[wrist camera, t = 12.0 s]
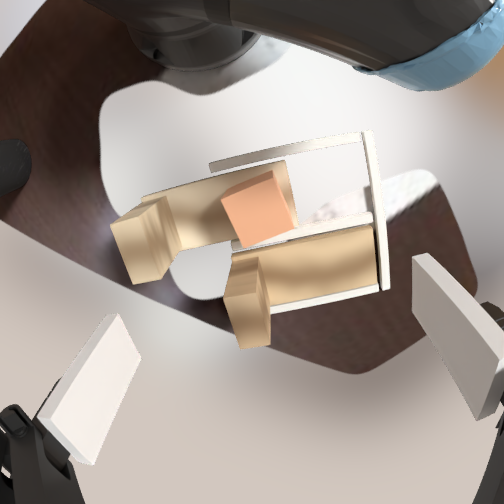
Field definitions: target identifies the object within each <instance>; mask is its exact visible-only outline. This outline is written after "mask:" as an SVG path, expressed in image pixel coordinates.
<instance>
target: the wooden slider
mask: <svg viewBox="0 0 504 504" xmlns="http://www.w3.org/2000/svg"><path fill="white" fill-rule="evenodd" d="M271 170H273V172H274V175H275V177H276V179H277V182H278V184H279V186H280V189H281V191H282V194H283V196H284V198H285V201H286V203H287V205H288V208H289V210H290V213H291V216H292V220H293V224H294V226H299V222H298V217H297V212H296V208H295V203H294V199H293V194H292V189H291V185H290V180H289V175H288V171H287V167H286V162H285V160H281V161H277V162H272V163H268V164H263V165H259V166H254V167H250V168H246V169H242V170H238V171H233V172H229V173H225V174H221V175H218V176H213V177H210V178H206V179H202V180H198V181H194V182H191V183H188V184H184V185H180V186H176V187H173V188H169V189H166V190H162V191H159V192H156V193H152V194H149V195H146V196H144V197H142V198H141V201H142V203H141V204H139V205H138V206H136V207H135V208H133V209H132V210H130V211H129V212H128V213H126V214H125V215H123V216H122V217H120V218H119V219H117V220H116V221H115V222H113V223H112V224H110V226H111V229H112V232H113V235H114V237H115V240H116V243H117V245H118V248H119V251H120V253H121V256H122V258H123V261H124V263H125V266H126V268H127V271H128V273H129V276H130V278H131V281H132V283H133V285H134V284H139V283H144V282H149V281H154V280H159V279H162V277H163V275H164V274H165V272H166V271H167V269H168V268H169V266H170V265H171V263H172V262H173V260H174V258H175V256H176V255H177V254H178V252H179V251H183V250H188V249H192V248H196V247H201V246H206V245H211V244H215V243H219V242H224V241H228V240H233V239H238V238H239V237H238V235H237V233H236V231H235V229H234V227H233V225H232V223H231V221H230V219H229V216H228V214H227V212H226V210H225V208H224V206H223V204H222V202H221V198H222V197H223V195H224V193H225V192H226V190H227V189H228V188H230V187H233V186H235V185H237V184H240V183H242V182H244V181H247V180H249V179H251V178H254V177H256V176H258V175H261V174H263V173H266V172H268V171H271Z"/></svg>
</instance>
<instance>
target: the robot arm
mask: <svg viewBox="0 0 504 504" xmlns="http://www.w3.org/2000/svg"><path fill="white" fill-rule="evenodd" d="M83 1H85V2H87V3H89V4H91V5H93V6H95V7H97V8H98V9H100V10H102V11H104V12H106V13H108V14H109V15H111V16H113V17H115V18H116V19H118V20H120V21H122V22H123V23H125V24H126V26H127V29H128V32H129V35H130V37H131V39H132V41H133V43H134V44H135V46H136V47H137V48H138V49H139V51H140V52H141V53H143V54H144V55H145V56H146V57H148V58H149V59H151V60H152V61H154V62H156V63H158V64H160V65H162V66H164V67H167V68H170V69H174V70H179V71H203V70H209V69H213V68H216V67H220V66H222V65H225V64H227V63H229V62H231V61H233V60H235V59H237V58H238V57H240V56H241V55H243V54H244V53H245V52H246V51H248V50H249V49H250V48H251V47H252V46H253V45H254V44H255V43H256V41H257V40H258V39H259V38H260V36H261V35H265V36H269V37H273V38H276V39H279V40H283V41H286V42H289V43H292V44H296V45H298V46H301V47H305V48H307V49H310V50H313V51H316V52H319V53H321V54H324V55H327V56H329V57H332V58H334V59H337V60H340V61H342V62H344V63H347V64H349V65H352V67H353V68H354V69H355V70H357V71H359V72H361V73H364V74H368V75H377V76H379V77H382V78H384V79H386V80H389V81H391V82H393V83H396V84H398V85H400V86H402V87H404V88H407V89H410V90H414V91H425V90H426V91H439V90H443V89H446V88H450V87H452V86H455V85H457V84H459V83H461V82H463V81H465V80H466V79H468V78H470V77H471V76H473V75H474V74H476V73H477V72H478V71H480V70H481V69H482V68H483V67H484V66H485V65H487V64H488V63H489V62H490V61H491V60H492V59H493V58H494V57H495V55H496V54H497V53H498V52H499V51H500V49H501V48H502V46H503V45H504V0H83ZM412 312H413V314H414V315H415V317H416V318H417V320H418V321H419V323H420V324H421V326H422V328H423V329H424V331H425V332H426V334H427V335H428V337H429V339H430V340H431V342H432V343H433V345H434V347H435V348H436V350H437V352H438V353H439V355H440V357H441V358H442V360H443V361H444V363H445V365H446V367H447V368H448V370H449V372H450V374H451V375H452V377H453V379H454V380H455V382H456V384H457V386H458V387H459V390H460V391H461V393H462V395H463V397H464V399H465V401H466V402H467V404H468V406H469V408H470V410H471V412H472V414H473V416H474V418H475V420H476V421H478V420H480V419H483V418H485V417H487V416H489V415H491V414H493V413H495V411H496V409H497V407H498V405H499V402H500V401H501V403H502V405H503V406H504V312H503V311H501V309H500V308H499V307H497V306H495V305H493V304H491V303H489V302H485V303H482V304H478V302H477V301H476V300H475V299H474V298H473V297H472V296H471V295H470V294H469V293H468V292H467V291H466V290H465V289H464V288H463V287H462V286H461V285H460V284H459V283H458V282H457V281H456V280H455V279H454V278H453V277H452V276H451V275H450V274H449V273H448V272H447V271H446V270H445V269H444V268H443V267H442V266H441V265H440V264H439V263H438V262H437V261H436V260H435V259H434V258H433V257H432V256H430V255H429V254H428V253H425V254H421V255H417V256H413V257H412ZM141 359H142V358H141V356H140V354H139V352H138V350H137V349H136V347H135V345H134V343H133V341H132V339H131V337H130V335H129V333H128V331H127V329H126V327H125V325H124V323H123V321H122V319H121V318H120V315H119V313H118V314H111V315H106V316H105V317H104V319H103V320H102V321H101V323H100V324H99V325H98V327H97V328H96V330H95V331H94V332H93V334H92V335H91V336H90V338H89V339H88V341H87V342H86V343H85V345H84V346H83V348H82V349H81V350H80V352H79V353H78V355H77V356H76V358H75V359H74V360H73V362H72V363H71V365H70V366H69V368H68V369H67V371H66V372H65V374H64V375H63V376H62V377H61V378H60V379H59V380H58V381H57V382H56V384H55V385H54V387H53V389H52V391H50V393H49V395H48V396H47V397H48V398H46V399H45V400H44V402H43V404H42V405H41V407H40V408H39V410H38V411H37V413H36V415H35V416H34V418H33V419H32V421H31V419H30V418H29V417H28V416H27V415H26V413H25V412H24V411H23V410H22V409H21V407H20V406H19V405H17V404H13V405H10V406H8V407H6V408H5V409H3V411H2V412H1V413H0V426H1V427H2V428H3V430H4V431H5V432H6V433H4V432H3V431H2V430H1V429H0V504H85V502H84V499H83V496H82V493H81V490H80V487H79V484H78V481H77V478H76V475H75V471H74V468H73V465H72V463H71V462H70V461H69V460H68V458H69V456H70V454H71V455H72V456H73V457H74V458H75V459H76V460H77V461H78V462H79V463H83V464H88V465H94V463H95V461H96V459H97V456H98V454H99V451H100V449H101V447H102V444H103V442H104V440H105V438H106V435H107V433H108V431H109V428H110V426H111V424H112V421H113V419H114V417H115V415H116V413H117V410H118V408H119V406H120V404H121V401H122V399H123V397H124V395H125V393H126V391H127V389H128V386H129V384H130V382H131V380H132V378H133V376H134V374H135V371H136V369H137V367H138V365H139V363H140V361H141ZM496 428H499V429H498V433H497V437H496V440H495V443H494V447H493V450H492V453H491V456H490V459H489V462H488V465H487V468H486V471H485V474H484V476H483V479H482V482H481V484H480V486H479V489H478V492H477V494H476V496H475V499H474V501H473V503H472V504H504V412H503V414H502V416H501V418H500V420H499V422H498V424H497V426H496ZM2 466H3V467H4V468H5V469H6V470H7V471H8V472H9V473H10V474H11V476H10V478H8V477H7V476H5V475H4V474H3V473H2V472H1V469H2Z"/></svg>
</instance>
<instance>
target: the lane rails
mask: <svg viewBox="0 0 504 504" xmlns="http://www.w3.org/2000/svg"><path fill="white" fill-rule="evenodd" d="M361 134H362V139H363V145H364V150H365V156H366V161H367V168H368V174H369V180H370V187H371V194H372V202H373V209H374V218H375V227H376V236H377V247H378V259H379V273H380V287H381V288H382V290H386V289H390V275H389V257H388V243H387V231H386V221H385V211H384V202H383V194H382V186H381V179H380V172H379V166H378V159H377V153H376V148H375V142H374V137H373V131H372V130H367V131H361ZM355 142H361V139H360V134H359V132H354V133H347V134H341V135H336V136H330V137H324V138H318V139H313V140H308V141H302V142H298V143H292V144H288V145H283V146H279V147H274V148H269V149H264V150H260V151H256V152H251V153H247V154H243V155H239V156H235V157H231V158H227V159H223V160H219V161H215V162H211V163H209V167H210V170H211V173H213V172H217V171H221V170H225V169H229V168H233V167H237V166H241V165H245V164H249V163H253V162H258V161H262V160H267V159H271V158H276V157H281V156H285V155H290V154H295V153H299V152H305V151H310V150H315V149H320V148H326V147H331V146H337V145H343V144H349V143H355ZM371 222H373V216H372V213H371V212H370V211H368V212H363V213H358V214H353V215H348V216H343V217H338V218H333V219H328V220H323V221H318V222H314V223H309V224H304V225H299V226H294V228H295V229H292V230H290V231H287V232H285V233H282V234H279V235H277V236H274V237H272V238H269V239H267V240H264V241H262V242H259V243H256V244H254V245H251V246H249V247H246V248H251V247H256V246H260V245H265V244H270V243H275V242H279V241H284V240H289V239H294V238H299V237H303V236H308V235H313V234H318V233H323V232H327V231H332V230H337V229H342V228H347V227H352V226H356V225H361V224H366V223H371ZM231 246H232V249H233V251H237V250H241V249H246V248H243V246H242V244H241V242H240V239H239V238H238V239H233V240H231ZM378 291H379V284H378V282H377V283H376V284H372V285H367V286H363V287H358V288H354V289H350V290H345V291H340V292H336V293H331V294H326V295H322V296H317V297H312V298H307V299H302V300H297V301H292V302H287V303H282V304H277V305H271V306H270V314H273V313H279V312H284V311H289V310H295V309H300V308H305V307H310V306H315V305H319V304H324V303H329V302H334V301H338V300H343V299H347V298H352V297H356V296H361V295H365V294H369V293H374V292H378Z"/></svg>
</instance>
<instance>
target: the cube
mask: <svg viewBox="0 0 504 504" xmlns="http://www.w3.org/2000/svg"><path fill="white" fill-rule="evenodd" d="M221 202H222V204H223V206H224V208H225V210H226V212H227V214H228V216H229V219H230V221H231V223H232V225H233V227H234V229H235V231H236V233H237V235H238V237H239V239H240V242H241V244H242V246H243V248H246V247H249V246H251V245H254V244H256V243H259V242H262V241H264V240H267V239H269V238H272V237H274V236H277V235H279V234H282V233H285V232H287V231H290V230H292V229H295V228H294V224H293V220H292V216H291V213H290V210H289V208H288V205H287V203H286V201H285V198H284V196H283V194H282V191H281V189H280V186H279V184H278V182H277V179H276V177H275V175H274V172H273V170H271V171H268V172H266V173H263V174H261V175H258V176H256V177H254V178H251V179H249V180H247V181H244V182H242V183H240V184H237V185H235V186H233V187H230V188H228V189H227V190H226V192H225V193H224V195H223V197H222V198H221Z"/></svg>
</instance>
